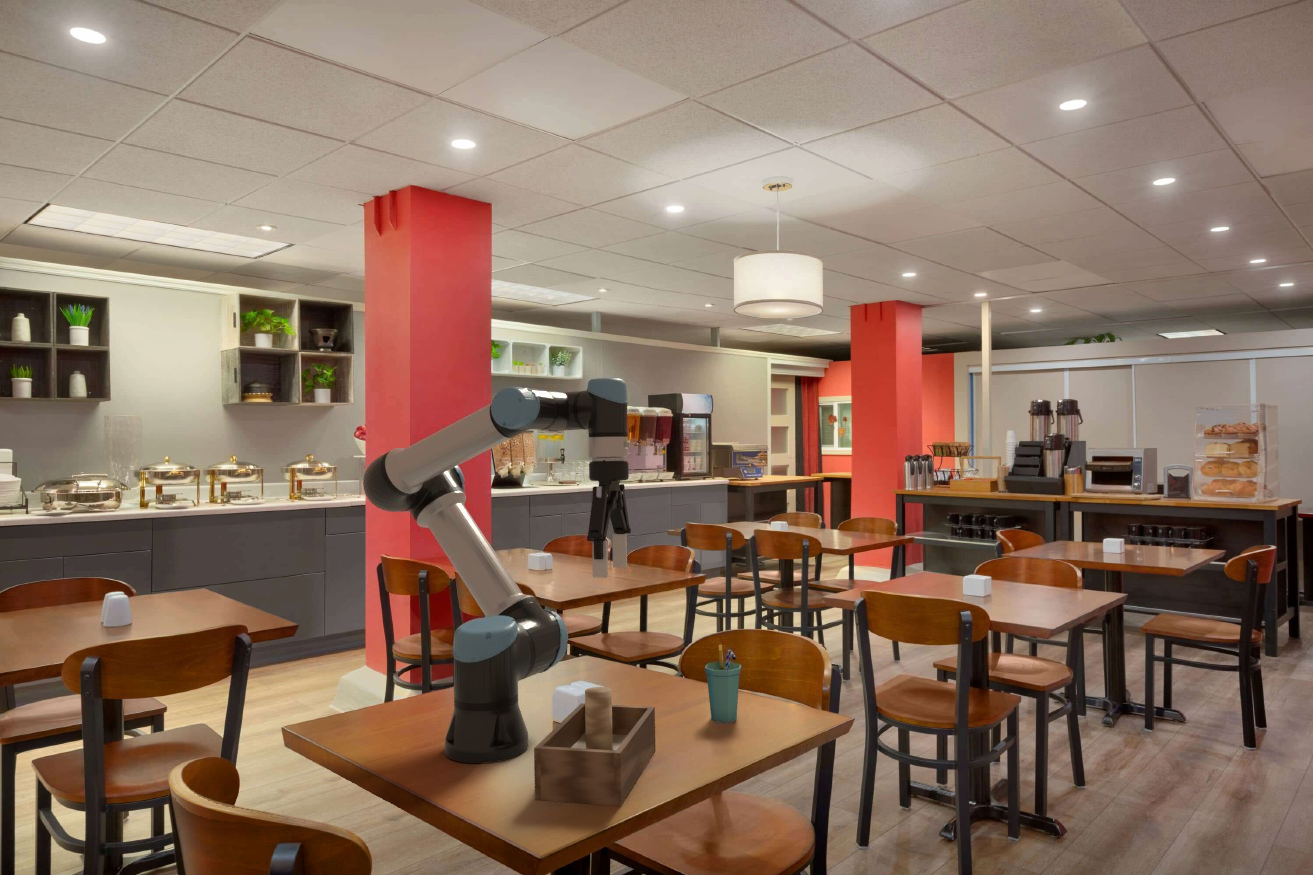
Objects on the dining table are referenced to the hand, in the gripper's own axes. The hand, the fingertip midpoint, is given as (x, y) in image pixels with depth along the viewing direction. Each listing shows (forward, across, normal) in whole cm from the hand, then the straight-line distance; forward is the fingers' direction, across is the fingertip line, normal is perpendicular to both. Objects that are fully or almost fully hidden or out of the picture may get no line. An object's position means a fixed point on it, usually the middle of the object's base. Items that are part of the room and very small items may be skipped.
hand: (610, 572), depth 156 cm
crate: (+32, -16, -2) cm, 36 cm away
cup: (+32, +16, -19) cm, 40 cm away
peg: (+32, -16, -2) cm, 36 cm away
